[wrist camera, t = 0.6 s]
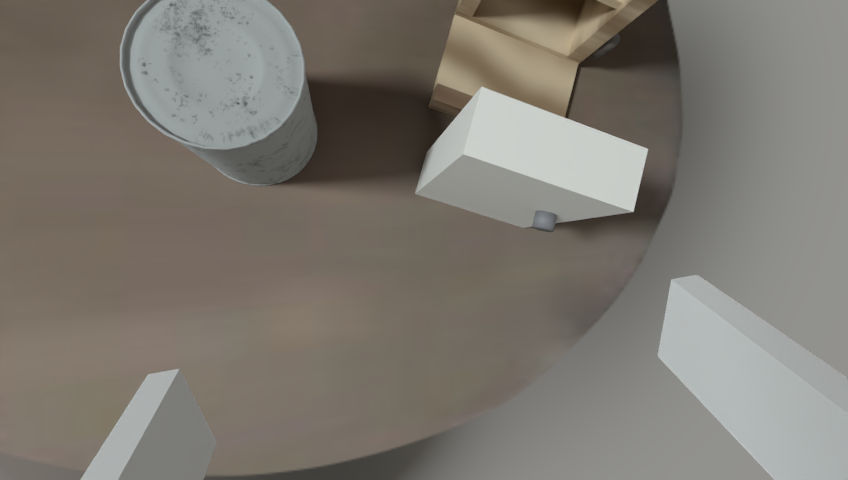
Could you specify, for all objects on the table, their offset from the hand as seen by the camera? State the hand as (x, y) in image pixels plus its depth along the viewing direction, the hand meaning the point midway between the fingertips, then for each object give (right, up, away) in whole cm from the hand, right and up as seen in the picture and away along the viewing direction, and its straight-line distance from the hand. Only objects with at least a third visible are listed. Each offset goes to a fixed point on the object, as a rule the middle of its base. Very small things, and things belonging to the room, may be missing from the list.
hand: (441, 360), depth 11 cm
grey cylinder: (-14, +13, +24) cm, 31 cm away
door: (+4, +8, +27) cm, 29 cm away
